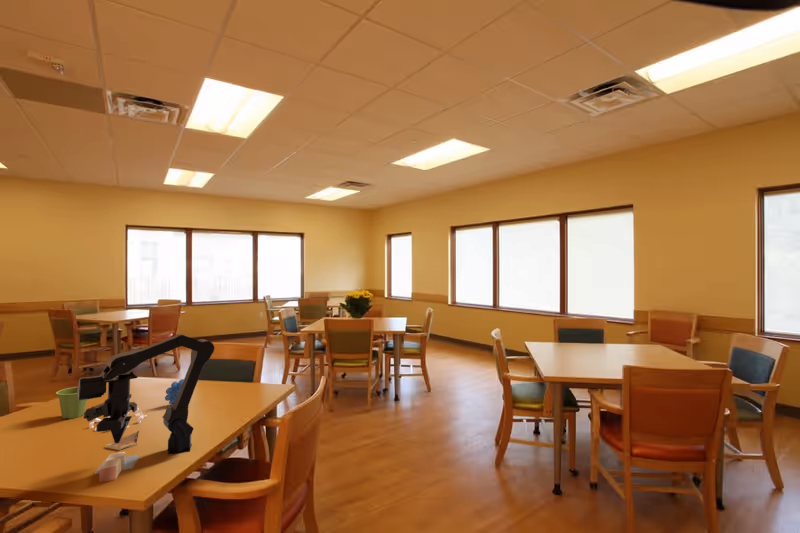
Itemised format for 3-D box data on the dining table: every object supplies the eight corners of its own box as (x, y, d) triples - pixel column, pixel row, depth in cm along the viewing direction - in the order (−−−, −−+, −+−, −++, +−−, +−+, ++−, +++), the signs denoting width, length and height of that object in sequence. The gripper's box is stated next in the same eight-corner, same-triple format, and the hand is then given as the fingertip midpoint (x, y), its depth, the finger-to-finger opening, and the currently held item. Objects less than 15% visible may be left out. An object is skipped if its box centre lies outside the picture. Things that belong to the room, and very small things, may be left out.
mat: (140, 455, 131) (140, 454, 131) (132, 469, 122) (132, 468, 122) (105, 460, 127) (105, 459, 127) (94, 475, 118) (94, 474, 118)
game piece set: (157, 417, 167) (157, 408, 167) (111, 435, 148) (112, 425, 148) (123, 412, 172) (123, 404, 172) (75, 429, 153) (75, 420, 153)
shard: (138, 435, 148) (139, 429, 148) (157, 438, 146) (157, 433, 146) (103, 449, 136) (104, 443, 136) (122, 453, 133) (123, 447, 133)
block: (125, 451, 124) (115, 466, 115) (124, 463, 124) (115, 479, 115) (110, 453, 123) (99, 469, 113) (110, 466, 123) (99, 482, 113)
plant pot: (70, 422, 159) (71, 395, 159) (47, 419, 161) (48, 393, 162) (97, 412, 171) (98, 387, 171) (76, 410, 173) (77, 385, 173)
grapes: (193, 400, 189) (193, 376, 189) (192, 404, 183) (192, 379, 183) (165, 403, 184) (166, 378, 184) (163, 407, 178) (164, 382, 178)
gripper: (99, 388, 129) (97, 434, 128) (75, 406, 111) (73, 459, 111) (138, 385, 133) (136, 430, 132) (121, 401, 116) (119, 453, 115)
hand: (117, 442), depth 123 cm, fingers closed
